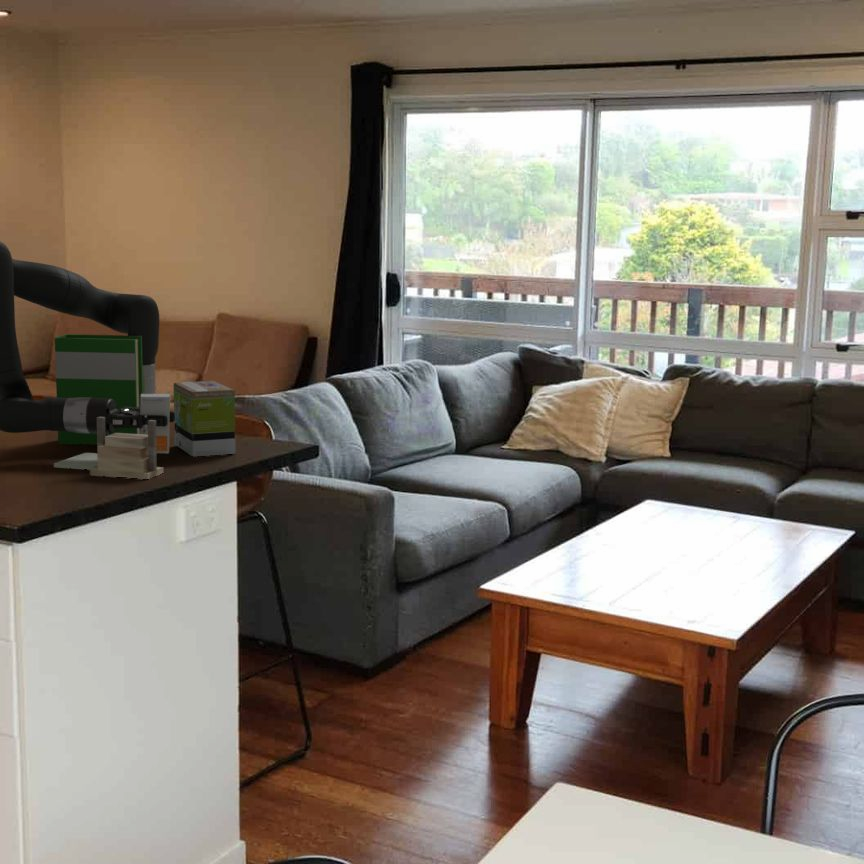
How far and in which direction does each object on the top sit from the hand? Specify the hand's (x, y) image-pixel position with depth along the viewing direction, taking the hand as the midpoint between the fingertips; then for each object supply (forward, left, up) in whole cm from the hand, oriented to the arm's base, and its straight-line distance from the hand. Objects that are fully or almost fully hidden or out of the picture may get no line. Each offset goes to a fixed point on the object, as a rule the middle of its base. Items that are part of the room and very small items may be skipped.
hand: (170, 418), depth 251 cm
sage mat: (+5, -16, -10) cm, 19 cm away
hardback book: (-19, -26, -10) cm, 33 cm away
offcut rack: (+13, -4, -10) cm, 16 cm away
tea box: (-17, 0, -10) cm, 20 cm away
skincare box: (+1, -3, -7) cm, 8 cm away
